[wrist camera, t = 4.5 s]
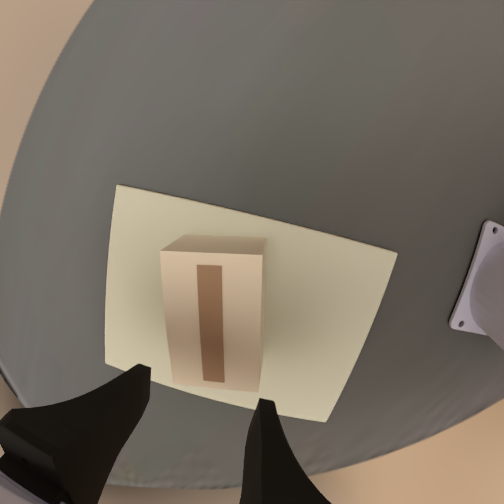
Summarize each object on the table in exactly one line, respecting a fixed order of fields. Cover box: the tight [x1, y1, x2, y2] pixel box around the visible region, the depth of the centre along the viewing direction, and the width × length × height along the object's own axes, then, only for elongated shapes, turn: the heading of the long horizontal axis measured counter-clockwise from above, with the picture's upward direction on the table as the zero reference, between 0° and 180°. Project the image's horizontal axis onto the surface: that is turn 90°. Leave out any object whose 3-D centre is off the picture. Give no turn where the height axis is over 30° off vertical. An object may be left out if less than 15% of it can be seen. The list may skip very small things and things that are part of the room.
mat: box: [105, 185, 398, 422], centre depth 20 cm, size 18×14×1 cm
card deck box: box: [160, 235, 267, 392], centre depth 18 cm, size 8×5×4 cm, turn 179°
